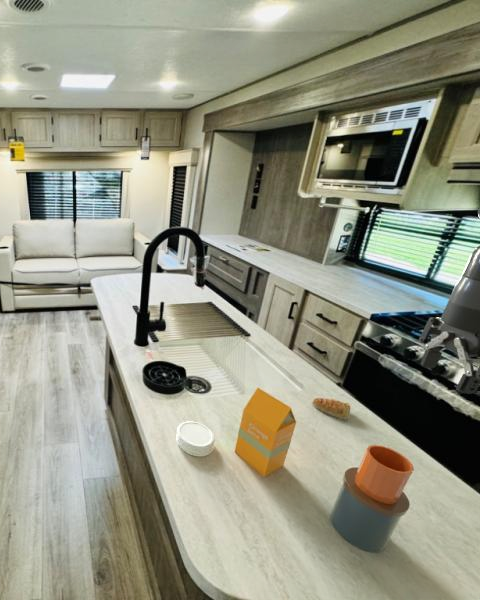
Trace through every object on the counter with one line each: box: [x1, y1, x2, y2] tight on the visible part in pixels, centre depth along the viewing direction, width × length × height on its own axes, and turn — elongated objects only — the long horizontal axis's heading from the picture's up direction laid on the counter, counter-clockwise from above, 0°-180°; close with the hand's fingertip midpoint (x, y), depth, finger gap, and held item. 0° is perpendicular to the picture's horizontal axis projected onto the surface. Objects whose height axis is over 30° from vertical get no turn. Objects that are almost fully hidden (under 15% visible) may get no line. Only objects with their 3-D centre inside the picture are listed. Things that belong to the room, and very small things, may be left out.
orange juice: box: [234, 387, 297, 478], centre depth 79 cm, size 8×9×20 cm
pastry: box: [312, 397, 351, 421], centre depth 98 cm, size 9×7×4 cm
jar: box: [329, 466, 411, 554], centre depth 64 cm, size 10×10×12 cm
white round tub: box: [175, 420, 216, 457], centre depth 87 cm, size 10×10×4 cm
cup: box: [355, 444, 415, 504], centre depth 60 cm, size 6×6×8 cm
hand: (444, 378), depth 62 cm, fingers open, 8 cm apart
